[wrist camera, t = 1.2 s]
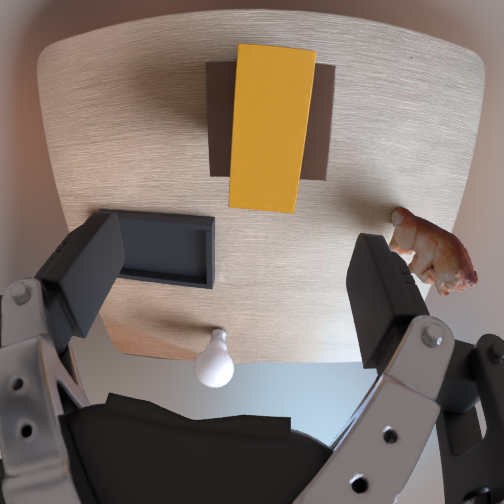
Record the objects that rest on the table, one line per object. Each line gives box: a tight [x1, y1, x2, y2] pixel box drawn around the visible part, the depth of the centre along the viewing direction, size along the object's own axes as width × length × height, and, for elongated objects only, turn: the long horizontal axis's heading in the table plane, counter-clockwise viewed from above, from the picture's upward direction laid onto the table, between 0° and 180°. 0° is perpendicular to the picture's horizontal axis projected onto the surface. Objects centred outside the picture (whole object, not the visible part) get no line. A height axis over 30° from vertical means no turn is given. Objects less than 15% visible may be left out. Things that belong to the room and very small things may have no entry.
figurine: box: [389, 207, 478, 296], centre depth 32 cm, size 6×8×15 cm
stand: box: [206, 59, 336, 181], centre depth 26 cm, size 9×9×12 cm
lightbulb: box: [194, 329, 234, 388], centre depth 49 cm, size 6×6×11 cm
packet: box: [229, 44, 316, 214], centre depth 19 cm, size 11×4×4 cm, turn 176°
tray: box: [98, 209, 215, 289], centre depth 42 cm, size 11×17×2 cm, turn 86°
